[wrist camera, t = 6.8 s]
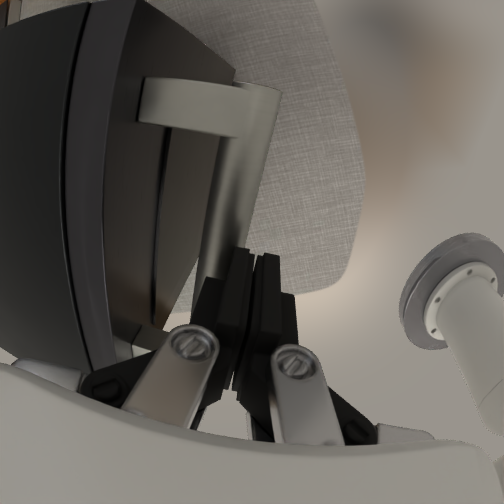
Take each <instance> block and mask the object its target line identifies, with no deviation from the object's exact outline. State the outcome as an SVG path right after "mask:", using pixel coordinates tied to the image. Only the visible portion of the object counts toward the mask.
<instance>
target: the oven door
mask: <svg viewBox="0 0 504 504" xmlns="http://www.w3.org/2000/svg"><path fill="white" fill-rule="evenodd" d="M234 74H235V69H234V68H233V67H232V66H230V65H229V64H228V63H227V62H226V61H225V60H223V59H222V58H221V57H220V56H219V55H218V54H216V53H215V52H214V51H213V50H211V49H210V48H209V47H208V46H207V45H205V44H204V43H203V42H202V41H200V40H199V39H198V38H196V37H195V36H194V35H193V34H191V33H190V32H189V31H187V30H186V29H185V28H183V27H182V26H181V25H179V24H178V23H176V22H175V21H174V20H172V19H171V18H169V17H168V16H167V15H165V14H164V13H162V12H161V11H159V10H158V9H156V8H155V7H153V6H152V5H150V4H149V3H147V2H146V1H144V0H101V1H95V2H92V3H91V6H90V9H89V12H88V15H87V19H86V22H85V26H84V29H83V33H82V37H81V41H80V45H79V50H78V54H77V59H76V64H75V69H74V74H73V80H72V87H71V93H70V101H69V109H68V118H67V130H66V145H65V213H66V229H67V240H68V250H69V259H70V266H71V274H72V280H73V286H74V292H75V298H76V303H77V308H78V313H79V318H80V323H81V327H82V331H83V335H84V339H85V343H86V347H87V351H88V355H89V358H90V362H91V365H92V368H93V372H94V371H96V370H98V369H101V368H104V367H107V366H110V365H113V364H116V363H119V362H122V361H125V360H128V359H131V358H134V357H137V356H140V355H143V354H145V353H148V352H151V351H154V350H157V349H158V348H159V346H160V345H161V343H162V342H163V340H164V339H165V337H166V336H167V334H168V333H169V332H166V331H163V327H164V325H165V323H166V321H167V319H168V317H169V315H170V313H171V311H172V309H173V307H174V305H175V303H176V301H177V299H178V297H179V295H180V293H181V291H182V289H183V287H184V285H185V283H186V281H187V279H188V277H189V275H190V273H191V271H192V269H193V267H194V265H195V263H196V261H197V259H198V257H199V259H198V266H197V272H196V280H195V287H194V294H193V302H192V310H191V317H192V314H193V311H194V308H195V306H196V303H197V300H198V297H199V294H200V291H201V288H202V286H203V283H204V280H205V278H206V276H208V277H213V278H217V279H222V280H226V281H227V277H228V273H229V269H230V265H231V261H232V257H233V253H234V249H235V246H237V247H242V248H245V243H246V239H247V235H248V231H249V227H250V223H251V219H252V215H253V210H254V206H255V202H256V198H257V194H258V190H259V186H260V182H261V178H262V174H263V170H264V166H265V162H266V158H267V154H268V150H269V146H270V142H271V138H272V134H273V130H274V126H275V122H276V118H277V114H278V110H279V106H280V102H281V98H282V94H283V93H282V91H280V90H277V89H274V88H271V87H267V86H263V85H259V84H254V83H248V82H241V81H234V82H233V78H234ZM190 320H191V318H190Z"/></svg>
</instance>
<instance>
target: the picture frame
mask: <svg viewBox="0 0 504 504" xmlns="http://www.w3.org/2000/svg"><path fill="white" fill-rule="evenodd" d="M20 9H21V1H18V0H10V1H9V2H8V0H5V1H4V2H3V3H2V4H1V5H0V29H1V28H3V27H5V26H8V25H10V24H13V23H15V22H18V21H19V18H20Z"/></svg>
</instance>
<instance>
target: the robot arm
mask: <svg viewBox="0 0 504 504" xmlns="http://www.w3.org/2000/svg"><path fill="white" fill-rule="evenodd" d="M249 252H250V249H246V248H242V247H237V246H235V249H234V253H233V257H232V261H231V265H230V269H229V273H228V277H227V281H226V280H222V279H217V278H213V277H208V276H206V278H205V280H204V283H203V286H202V288H201V291H200V294H199V297H198V300H197V303H196V306H195V308H194V311H193V314H192V317H191V320H190V323H189V324H185V325H180V326H177V327H175V328H173V329H172V330H171V331H170V332H169V333H168V334H167V336H166V337H165V339H164V340H163V342H162V343H161V345H160V346H159V348H158V349H157V350H154V351H151V352H148V353H145V354H143V355H140V356H137V357H134V358H131V359H128V360H125V361H122V362H119V363H116V364H113V365H110V366H107V367H104V368H101V369H98V370H96V371H94V372H92V373H90V374H88V373H83V371H82V369H78V368H73V367H67V366H63V365H58V364H53V363H49V362H44V361H40V360H36V359H32V358H21V359H17V360H16V361H15V362H13V363H12V364H11V365H8V364H4V363H0V504H504V455H503V456H502V457H500V458H498V459H497V460H495V461H494V462H492V460H491V458H490V457H489V455H488V454H487V453H486V452H485V451H484V450H483V449H482V448H480V447H478V446H475V445H473V444H469V443H465V442H462V441H456V440H435V439H434V437H433V436H432V435H431V434H430V433H428V432H426V431H423V430H415V429H409V428H403V427H396V426H391V425H386V424H380V423H378V424H377V425H376V426H374V425H373V424H372V423H371V422H370V421H369V420H368V419H367V418H366V417H365V416H363V415H362V414H361V413H360V412H359V411H357V410H356V409H355V408H354V407H352V406H351V405H350V404H349V403H348V402H346V401H345V400H344V399H343V398H342V397H340V396H339V395H338V394H336V392H334V391H333V390H332V389H331V388H330V387H329V386H327V383H326V380H325V376H324V373H323V370H322V367H321V364H320V362H319V360H318V358H317V357H316V355H315V354H314V353H313V352H312V351H310V350H309V349H307V348H305V347H302V346H300V345H299V343H298V330H297V320H296V319H297V318H296V308H295V297H294V295H293V294H288V293H283V292H281V281H280V256H278V255H274V254H269V253H264V255H263V256H260V255H258V256H257V260H256V264H255V267H254V258H255V254H251V253H249ZM253 267H254V271H253ZM497 287H498V282H497V277H496V274H495V272H494V271H493V270H492V269H491V268H490V267H489V266H488V265H487V264H485V263H482V262H470V263H467V264H464V265H461V266H460V267H458V268H456V269H455V270H453V271H452V272H451V273H449V274H448V275H447V276H446V277H445V278H444V279H443V280H442V281H441V282H440V283H439V284H438V285H437V286H436V288H435V289H434V291H433V292H432V294H431V295H430V297H429V299H428V301H427V303H426V306H425V310H424V317H423V319H424V325H425V327H426V329H427V331H428V333H429V334H430V335H431V336H432V337H433V338H435V339H438V340H445V341H446V343H447V345H448V347H449V349H450V351H451V353H452V355H453V357H454V359H455V361H456V363H457V365H458V367H459V369H460V372H461V374H462V376H463V378H464V380H465V382H466V385H467V387H468V389H469V392H470V394H471V396H472V399H473V401H474V403H475V406H476V408H477V410H478V413H479V416H480V418H481V421H482V423H483V424H484V426H485V427H486V428H487V429H488V430H489V431H490V432H492V433H494V434H496V435H499V436H504V300H503V299H502V297H501V296H500V295H499V294H498V292H497ZM233 372H234V376H233V383H232V391H237V399H236V400H237V401H240V404H241V405H242V406H243V407H244V408H245V409H246V410H247V413H246V421H247V432H248V440H245V439H238V438H231V437H226V436H220V435H214V434H210V433H205V432H200V431H198V430H199V427H200V425H201V422H202V420H203V417H204V415H205V412H206V410H207V406H209V405H210V404H212V403H214V402H216V401H218V400H220V399H221V396H222V392H223V389H226V390H228V389H229V385H230V382H231V378H232V375H233Z"/></svg>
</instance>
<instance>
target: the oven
mask: <svg viewBox="0 0 504 504" xmlns="http://www.w3.org/2000/svg"><path fill="white" fill-rule="evenodd" d="M90 6H91V3H90V2H82V3H78V4H74V5H69V6H65V7H61V8H58V9H54V10H51V11H47V12H44V13H41V14H38V15H35V16H32V17H29V18H26V19H23V20H21V21H18V22H15V23H13V24H10V25H8V26H5V27H3V28H1V29H0V347H1V348H2V349H4V350H6V351H7V352H9V353H10V354H12V355H13V356H15V357H17V358H18V359H21V358H32V359H36V360H40V361H44V362H49V363H53V364H58V365H63V366H67V367H73V368H78V369H82V371H83V373H88V374H90V373H92V372H93V368H92V365H91V362H90V358H89V355H88V351H87V347H86V343H85V339H84V335H83V331H82V327H81V323H80V318H79V313H78V308H77V303H76V298H75V292H74V286H73V280H72V274H71V266H70V259H69V250H68V240H67V229H66V213H65V145H66V130H67V118H68V109H69V101H70V93H71V87H72V80H73V74H74V69H75V64H76V59H77V54H78V50H79V45H80V41H81V37H82V33H83V29H84V26H85V22H86V19H87V15H88V12H89V9H90Z"/></svg>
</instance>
